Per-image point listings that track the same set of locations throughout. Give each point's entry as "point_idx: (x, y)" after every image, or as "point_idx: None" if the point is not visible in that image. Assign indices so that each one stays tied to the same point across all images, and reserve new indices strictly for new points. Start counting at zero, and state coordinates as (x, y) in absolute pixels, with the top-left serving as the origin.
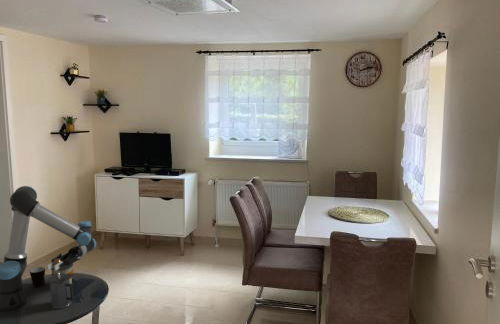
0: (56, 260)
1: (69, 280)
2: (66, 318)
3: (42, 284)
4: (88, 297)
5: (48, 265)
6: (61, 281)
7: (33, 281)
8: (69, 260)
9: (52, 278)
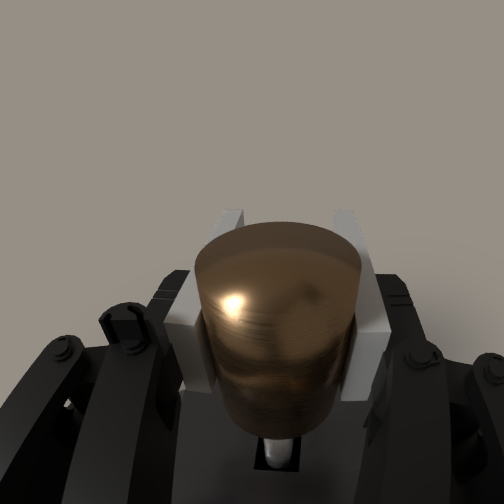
0: (274, 237)
1: None
2: (183, 392)
3: None
4: None
5: (335, 215)
6: None
7: None
8: (38, 369)
9: (340, 423)
